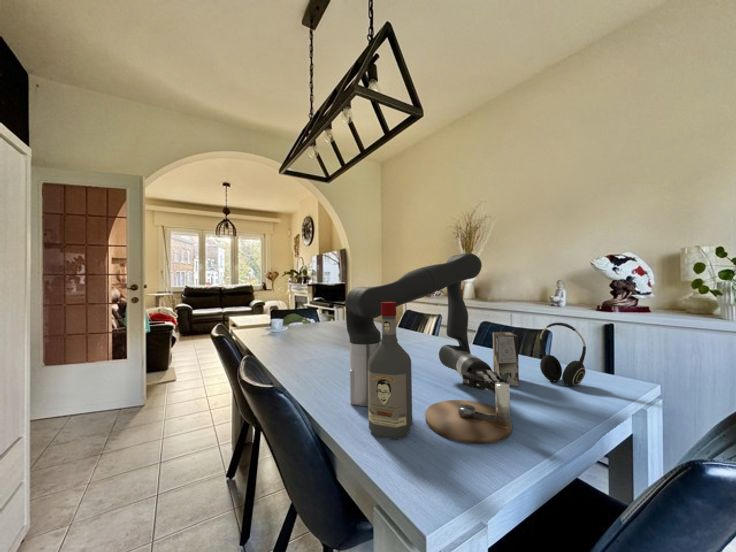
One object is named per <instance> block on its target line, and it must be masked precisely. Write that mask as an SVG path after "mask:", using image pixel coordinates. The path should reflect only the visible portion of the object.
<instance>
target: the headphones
mask: <svg viewBox="0 0 736 552" xmlns="http://www.w3.org/2000/svg"><path fill="white" fill-rule="evenodd" d="M555 326H561V327H565V328H568V329H571V330H572V331H573V332H575V333H576V334H577V335H578V336H579V338H580V339H581V342H582V345H583V346H582V350H581V351H582V352H581V354H580V358H579V360H572V361H571V362H569V363H568V364H567V365H566V366H565V368H564V370H563V367H562V364H561V363H560V361H559V359H558V358H557V357H555V355H552V354H547V353H546V349H545V346H544V342H543V338H542V336H543V334H544V333H545V331H546V330H547V329H548V328H551V327H555ZM539 346H540V352H541V355H542V358H541V360H540V363H539V368H540V371H541V374H542V375H543V376H544V378H545V379H547V380H548V381H550V382H558V381H559V380H562V382H563V384H564V385H566V386H567V387H574V386H578V385H580V383H582V381H583V380H584V378H585V376H586V367H585V365H584V361H585V357H586V354H587V353H586V351H587V345H586V342H585V340H584V338H583V337H582V335H581V334H580V333H579V332H578V330H577V329H576V328H575V327H573V326H572V325H570V324H569V323H565V322H553V323H549V324H548V325H547V326H546V327H545V328H543V330H542V331H541V333H540V336H539Z"/></svg>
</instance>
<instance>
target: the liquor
mask: <svg viewBox="0 0 736 552" xmlns="http://www.w3.org/2000/svg"><path fill="white" fill-rule="evenodd" d="M380 317H381V344H380V345H379V346H378V348H377V349H376V350H375V351H374V353H373V354H372V355H371V357H370V358H369V360H368V406H367V407H368V412H367V413H368V429H369V430H370V432H371V433H372V435H374V437H377V438H384V439H389V440H395V441H397V440H402V439H404V438H406V437H407V435H408V433H409V432H410V429H412V425H413V388H412V387H413V384H412V383H413V381H412V380H413V379H412V377H413V376H412V375H413V374H412V359H411V357H410V354H409V353H407V351H406V350H405V349H404V348H403V346H401V344H400V343H399V342H398V340H399V339H398V338H397V319H396V317H397V307H396V302H381V316H380Z"/></svg>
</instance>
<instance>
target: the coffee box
mask: <svg viewBox="0 0 736 552" xmlns="http://www.w3.org/2000/svg"><path fill="white" fill-rule="evenodd" d="M492 353H493V355H492V356H493V357H492V358H493V372H496V373H497V374H498V375H499V376H501V375H503V374H505V373H506V374H509V386H511V387H512V386H515V387H518V386H520V383H519V381H520V378H519V376H520V374H519V370H520V368H519V336H518V335H517V334H515V333H513V332H511V331H492Z"/></svg>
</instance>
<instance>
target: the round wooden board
mask: <svg viewBox="0 0 736 552" xmlns="http://www.w3.org/2000/svg"><path fill="white" fill-rule="evenodd" d="M459 405H471V406H473V407H475V412H479V413H483V414H487V415H491V416H495V417H496V406H492V405H489V404H486V403H483V402H479V401H473V400H465V399H451V400H442V401H438V402H435V403H433V404H431V405H430V406H428V407H427V408H426V410H425V416H424V417H425V423H426V424H425V425H427V427H428V428H429V429H430V430H431V431H433V432H434V433H436V434H437V435H440V436H441V437H442V438H446V439H448V440H452V441H455V442H460V443H464V444H473V445H475V444H476V445H486V444H494V443H499V442H501V441H504V440H506V439H507V438H509V436H511V434H512V432H513V431H512V430H513V429H512V425H513V424H512V420H511V418H510V424H509V425H505V426H503V425H500V424H496V423H492V422H489V421H485V420H481V419H478V418H474V417H473V418H464V417H461V416H460V415H459V414H458V406H459Z"/></svg>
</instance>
